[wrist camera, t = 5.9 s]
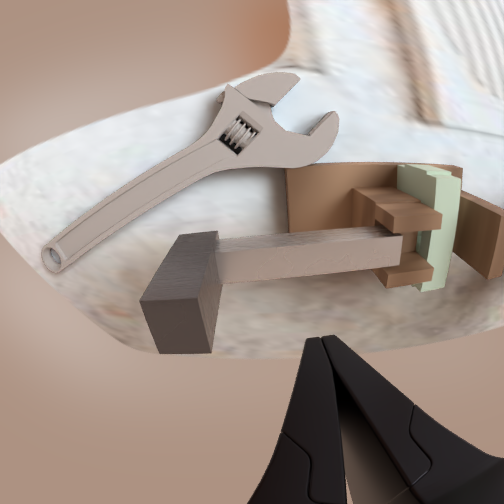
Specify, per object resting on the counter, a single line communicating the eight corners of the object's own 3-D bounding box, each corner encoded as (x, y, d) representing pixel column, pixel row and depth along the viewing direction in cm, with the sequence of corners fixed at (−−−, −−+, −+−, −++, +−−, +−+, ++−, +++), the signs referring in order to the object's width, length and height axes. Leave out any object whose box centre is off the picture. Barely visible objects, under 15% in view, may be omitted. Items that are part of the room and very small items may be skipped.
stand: (453, 165, 17) (525, 191, 10) (445, 246, 20) (502, 293, 12) (284, 165, 17) (309, 190, 10) (290, 262, 20) (309, 335, 13)
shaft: (388, 216, 14) (453, 268, 8) (384, 257, 15) (438, 320, 9) (179, 234, 14) (139, 300, 8) (188, 275, 15) (159, 353, 9)
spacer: (420, 162, 16) (461, 175, 12) (412, 259, 19) (443, 290, 15) (397, 161, 16) (436, 174, 12) (390, 262, 19) (419, 295, 15)
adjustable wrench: (61, 270, 21) (51, 279, 19) (29, 209, 19) (17, 216, 17) (339, 150, 17) (347, 152, 15) (305, 62, 15) (310, 56, 13)
